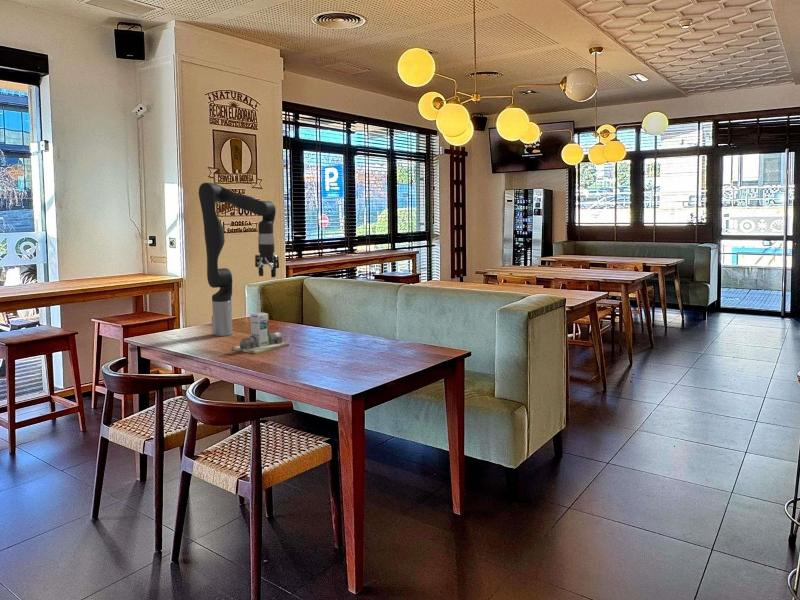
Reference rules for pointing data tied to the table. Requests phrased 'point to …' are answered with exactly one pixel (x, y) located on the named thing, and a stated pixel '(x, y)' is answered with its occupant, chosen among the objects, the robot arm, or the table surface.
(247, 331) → the table surface
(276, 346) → the shaft bed
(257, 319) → the syrup box
